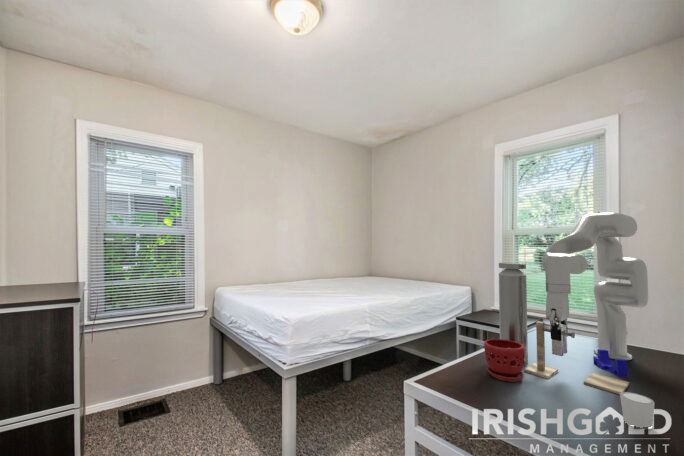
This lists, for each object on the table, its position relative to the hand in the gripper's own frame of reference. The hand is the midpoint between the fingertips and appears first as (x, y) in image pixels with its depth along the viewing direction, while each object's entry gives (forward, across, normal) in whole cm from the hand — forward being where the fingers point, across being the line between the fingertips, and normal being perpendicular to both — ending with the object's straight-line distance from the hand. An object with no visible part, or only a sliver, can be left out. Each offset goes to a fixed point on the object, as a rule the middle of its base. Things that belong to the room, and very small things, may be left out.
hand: (559, 337), depth 114 cm
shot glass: (+14, +18, +23) cm, 33 cm away
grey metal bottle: (+14, -3, -17) cm, 22 cm away
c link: (+6, 0, 0) cm, 6 cm away
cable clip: (+15, -23, +10) cm, 29 cm away
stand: (+14, 0, -3) cm, 14 cm away
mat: (+14, -6, +12) cm, 19 cm away
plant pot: (+14, +15, -13) cm, 25 cm away
